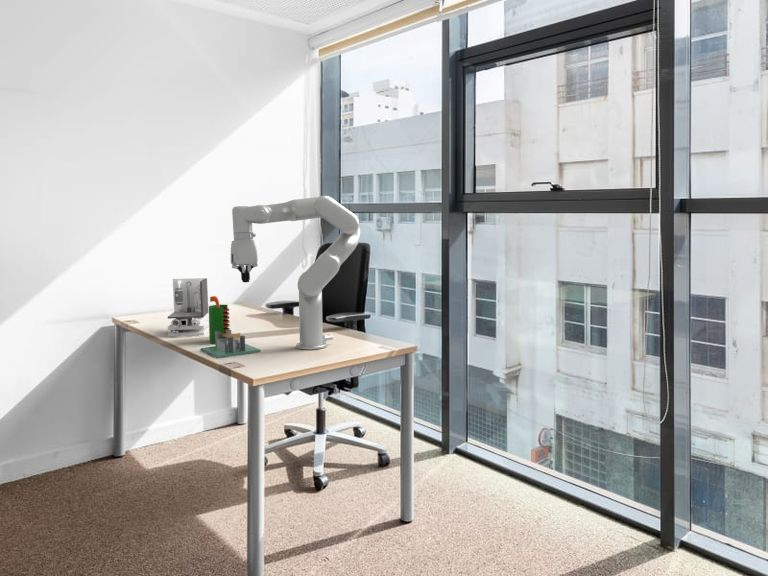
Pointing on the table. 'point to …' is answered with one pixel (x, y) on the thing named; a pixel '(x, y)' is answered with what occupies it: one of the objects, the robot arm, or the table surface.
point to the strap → (230, 335)
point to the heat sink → (226, 342)
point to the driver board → (231, 349)
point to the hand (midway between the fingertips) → (245, 282)
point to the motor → (217, 319)
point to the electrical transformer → (189, 307)
